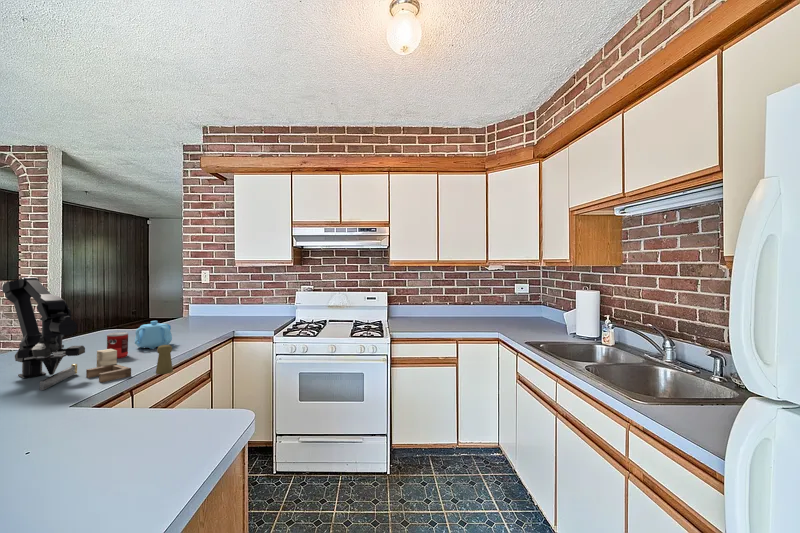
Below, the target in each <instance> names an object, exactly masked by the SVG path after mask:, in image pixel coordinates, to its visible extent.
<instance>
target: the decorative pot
mask: <svg viewBox="0 0 800 533" xmlns="http://www.w3.org/2000/svg"><path fill="white" fill-rule="evenodd" d="M171 330H172V326H171V324H168V323H160V322H158V320H151V321H150V323H147V324H141V325H140V326H139V327H138V328H137V329H136V330H135V338H134V344H135V345H136V346H137V347H139V348H140V349H145V348H149V350H154V349H155V350H156V348H158V347H159V346H161V345H170V344H171V342H172V341H173V335H172V332H171Z"/></svg>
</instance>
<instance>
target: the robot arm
mask: <svg viewBox="0 0 800 533" xmlns="http://www.w3.org/2000/svg"><path fill="white" fill-rule="evenodd" d="M1 291H2V292H3V294H4V295H5V298H6V300H8V301H10V302H11V303H12V304H13V305H14V309H15V313H16V316H17V320H18V322H19V327H20V330H21V333H22V338H21V341H20V343H19V346H18V347H19V348H18V350H17V351H16V353H15V355H14V360H15V362H19V363H21V373H18V375H17V376H18V377H20V378H22V379H28V378H34V377H38V376H39V377H40V376H45V375H47V372H48V374H49V376H52V375H54V374H56V373H55V372H56V371H57V368H58V367H59V364H60V363H61V361H63V358H64V357H66V356H68V357H76V356H77V357H78V356H80V355H82V354H84V353H86V348H85V346H84V345H71V346H69V347H67V348H65V345H64V344H63V338H64V337H65V336H71V335H73V334H74V333H76V332H77V329H78V324H77V323H76V321H74V319H72V311H71V309H70V308H69V305H68V303H67V302H66V300H65V299H63V298H62V297H60V296H59V295H58V296H57V295H53V294H52V293H51V292H50V290H49V289H47V288H46V287H45V286H44V285H43V284H42V282H40V279H39V277H36V276H34V277H33V276H30V277H27V276H25V277H24V276H23V277H20V278H18V279H14V280H8V281H6V282H5V283H3V284H2V287H1ZM31 298H32V299H33V300H34V301H35V302H36V303H37V306H36V310H37V312H38V313H39V315H40V316H41V317H40V319H39V320H40V321H41V332H40V329H39V326H38V322H37V318H36V315H35V311H34V308H33V304H32V301H31ZM43 364H44V366H45V368H46V371H47V372H44V371H43Z"/></svg>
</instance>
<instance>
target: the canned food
mask: <svg viewBox="0 0 800 533" xmlns="http://www.w3.org/2000/svg"><path fill="white" fill-rule="evenodd" d="M106 349H114V350H117V358H118V359H124V358H126V356H127V357H128V355H129V333H128V332H126V331H120V332H119V331H118V332H117V331H116V332H110V333H109V332H108V333H107V334H106Z"/></svg>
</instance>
